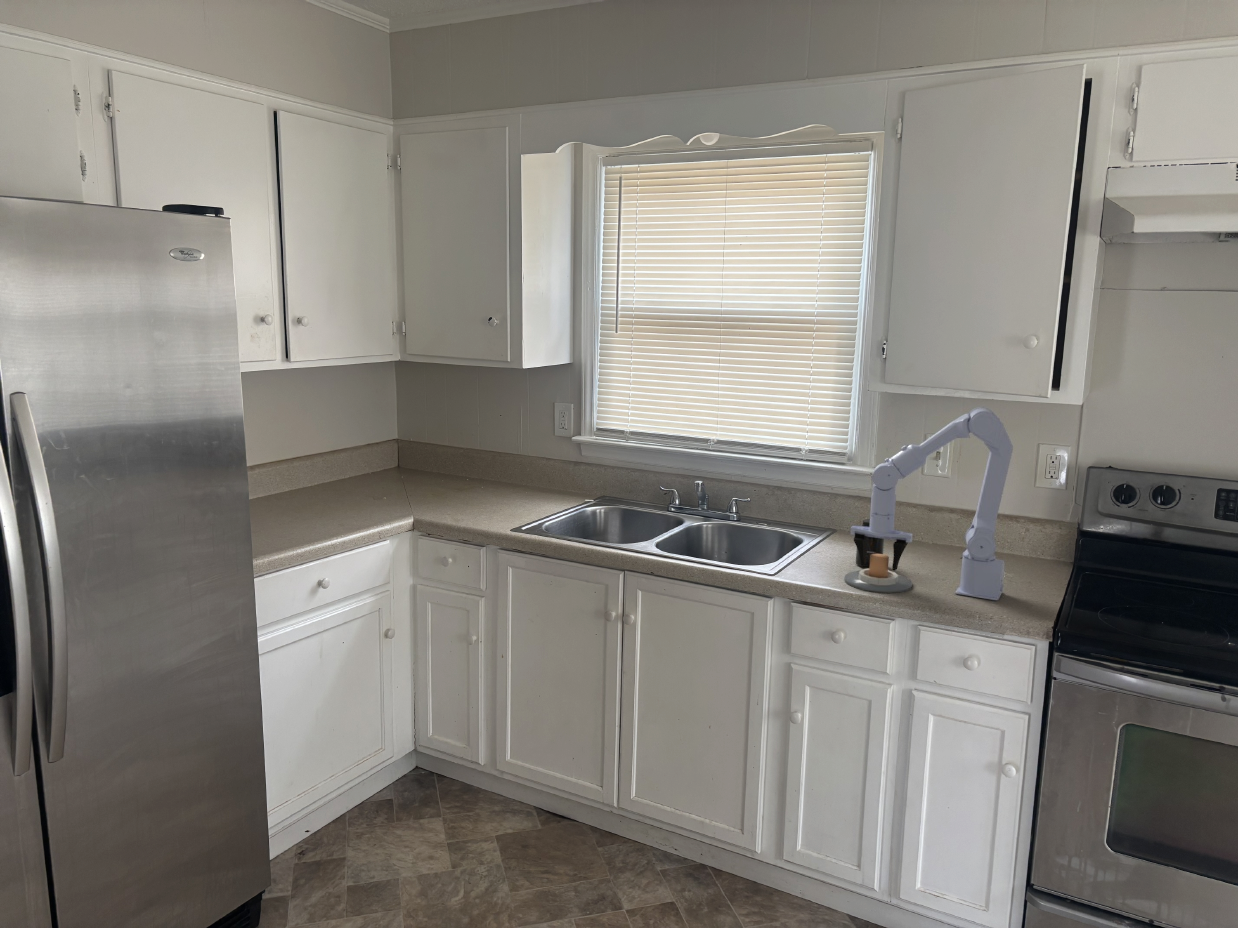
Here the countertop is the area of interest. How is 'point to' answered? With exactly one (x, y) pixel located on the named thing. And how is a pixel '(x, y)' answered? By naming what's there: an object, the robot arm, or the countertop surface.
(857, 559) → the supplement bottle
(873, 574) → the tan rounded block
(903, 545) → the robot arm
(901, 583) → the tray
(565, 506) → the countertop surface
